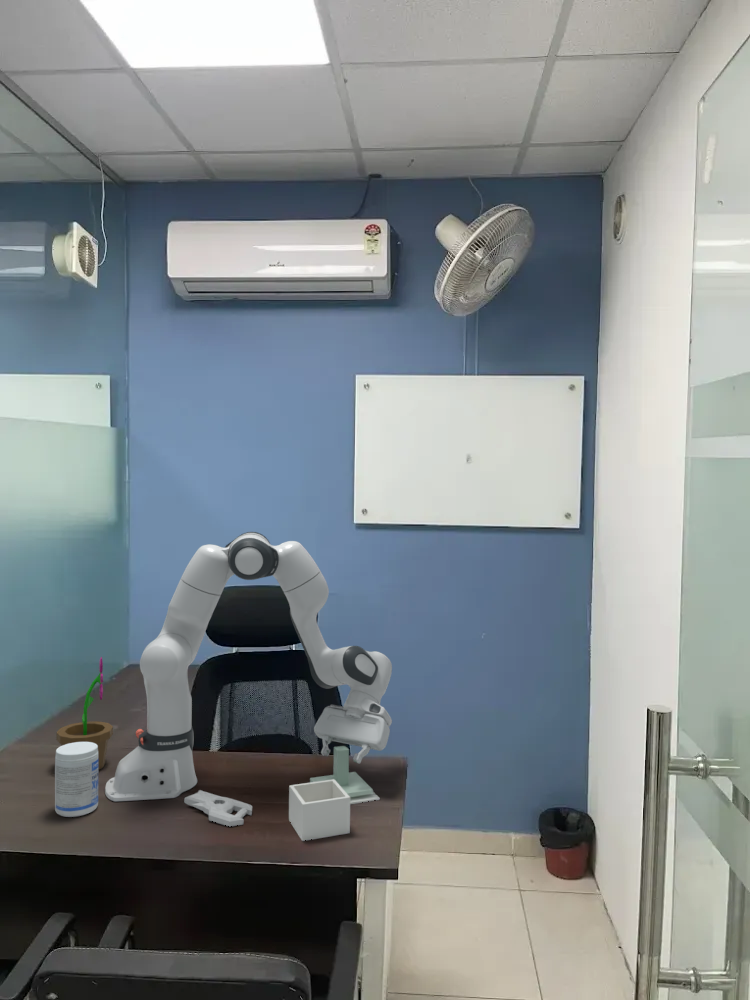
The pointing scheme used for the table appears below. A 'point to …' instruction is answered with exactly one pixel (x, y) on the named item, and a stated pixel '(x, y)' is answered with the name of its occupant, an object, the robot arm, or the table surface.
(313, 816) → the tub
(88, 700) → the flowerpot
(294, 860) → the table surface
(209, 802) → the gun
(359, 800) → the mat
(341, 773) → the lid
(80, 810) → the supplement tub
